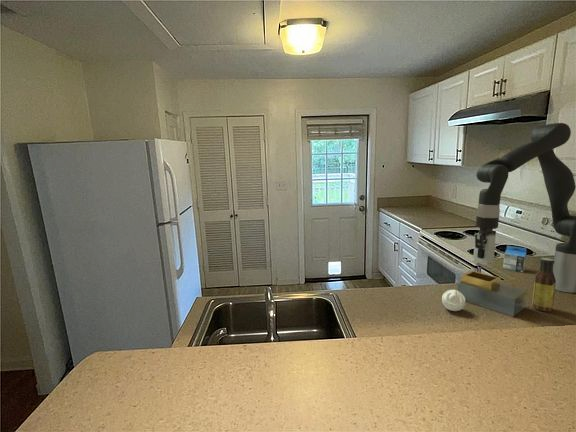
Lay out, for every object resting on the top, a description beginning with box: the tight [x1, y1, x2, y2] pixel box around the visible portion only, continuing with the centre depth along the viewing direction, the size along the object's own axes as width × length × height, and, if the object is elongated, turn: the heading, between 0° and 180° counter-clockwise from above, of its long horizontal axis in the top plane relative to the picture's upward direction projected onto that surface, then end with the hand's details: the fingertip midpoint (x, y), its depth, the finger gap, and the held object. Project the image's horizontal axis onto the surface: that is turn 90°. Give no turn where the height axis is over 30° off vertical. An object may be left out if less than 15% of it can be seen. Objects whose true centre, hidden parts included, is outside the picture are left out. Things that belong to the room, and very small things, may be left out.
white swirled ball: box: [441, 289, 467, 312], centre depth 117 cm, size 8×8×8 cm
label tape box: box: [502, 245, 527, 273], centre depth 161 cm, size 9×4×12 cm, turn 43°
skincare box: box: [472, 232, 497, 267], centre depth 123 cm, size 6×4×12 cm
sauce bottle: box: [531, 257, 556, 313], centre depth 117 cm, size 7×6×20 cm
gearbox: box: [457, 270, 527, 317], centre depth 123 cm, size 12×20×10 cm, turn 36°
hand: (483, 256), depth 124 cm, fingers closed on skincare box, 4 cm apart
